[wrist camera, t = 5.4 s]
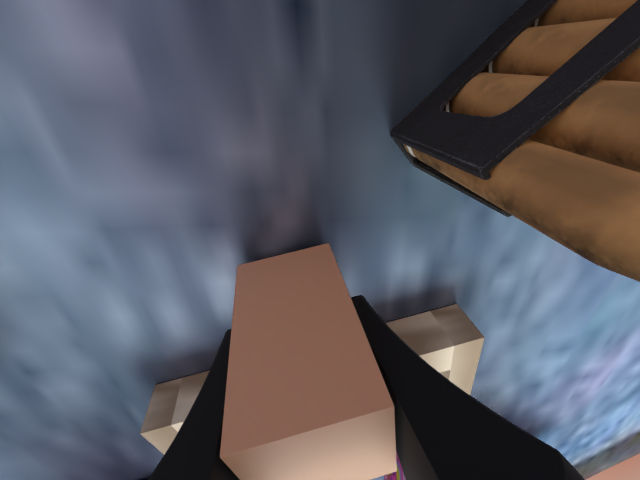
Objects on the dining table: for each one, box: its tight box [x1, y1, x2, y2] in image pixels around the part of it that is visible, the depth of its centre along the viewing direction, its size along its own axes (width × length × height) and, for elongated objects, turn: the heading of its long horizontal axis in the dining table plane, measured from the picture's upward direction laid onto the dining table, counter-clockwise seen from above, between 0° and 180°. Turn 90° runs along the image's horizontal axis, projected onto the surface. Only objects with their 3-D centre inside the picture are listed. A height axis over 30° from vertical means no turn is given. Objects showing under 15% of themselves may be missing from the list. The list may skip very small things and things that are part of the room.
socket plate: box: [140, 304, 485, 455], centre depth 18 cm, size 18×10×2 cm, turn 99°
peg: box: [220, 243, 397, 480], centre depth 10 cm, size 4×4×7 cm
